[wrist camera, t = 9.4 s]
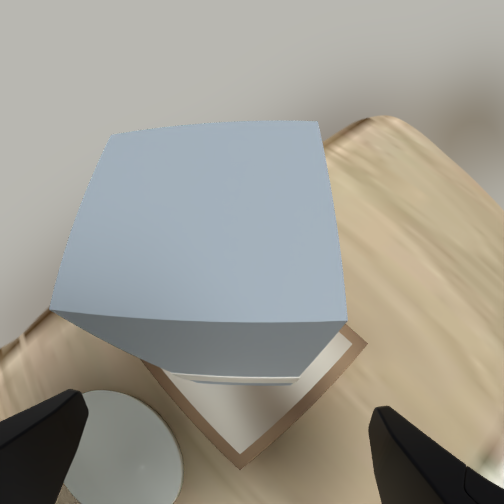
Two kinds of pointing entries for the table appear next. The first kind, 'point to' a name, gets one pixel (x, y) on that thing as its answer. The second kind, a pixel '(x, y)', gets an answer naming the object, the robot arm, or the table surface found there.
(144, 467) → the saucer
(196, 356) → the carton
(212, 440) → the tray
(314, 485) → the table surface
